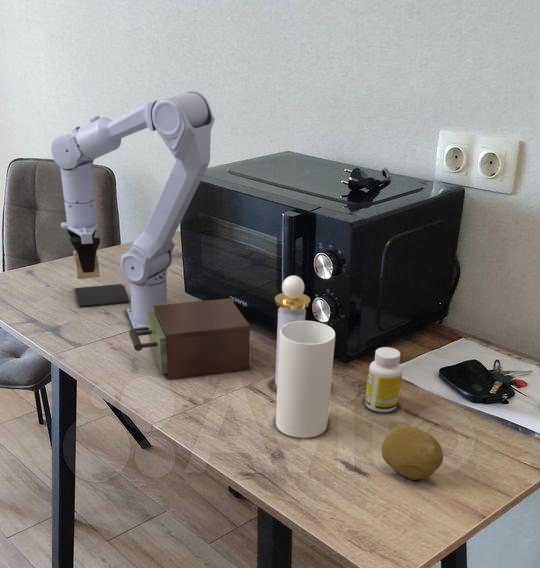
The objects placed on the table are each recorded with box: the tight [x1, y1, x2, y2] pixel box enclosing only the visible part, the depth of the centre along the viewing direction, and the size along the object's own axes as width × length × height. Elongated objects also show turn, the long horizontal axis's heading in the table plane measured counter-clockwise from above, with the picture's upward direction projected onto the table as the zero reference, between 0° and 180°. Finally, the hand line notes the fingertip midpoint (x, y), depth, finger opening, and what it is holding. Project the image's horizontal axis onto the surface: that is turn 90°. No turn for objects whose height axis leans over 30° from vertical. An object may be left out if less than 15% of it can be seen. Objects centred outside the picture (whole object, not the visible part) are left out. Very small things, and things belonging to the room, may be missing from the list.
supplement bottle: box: [364, 346, 403, 413], centre depth 115 cm, size 5×5×10 cm
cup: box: [275, 320, 336, 439], centre depth 108 cm, size 8×8×16 cm
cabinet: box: [153, 297, 251, 380], centre depth 127 cm, size 15×13×9 cm
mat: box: [74, 283, 129, 308], centre depth 152 cm, size 10×10×1 cm
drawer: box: [128, 312, 168, 375], centre depth 126 cm, size 18×11×7 cm, turn 108°
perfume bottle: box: [273, 275, 311, 386], centre depth 117 cm, size 6×6×20 cm
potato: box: [381, 425, 444, 481], centre depth 99 cm, size 7×8×8 cm
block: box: [72, 250, 100, 280], centre depth 143 cm, size 4×4×4 cm
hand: (87, 267), depth 143 cm, fingers closed on block, 4 cm apart
